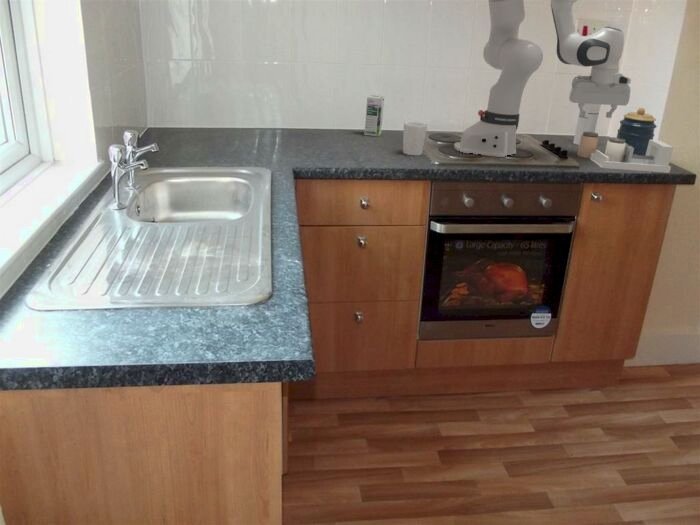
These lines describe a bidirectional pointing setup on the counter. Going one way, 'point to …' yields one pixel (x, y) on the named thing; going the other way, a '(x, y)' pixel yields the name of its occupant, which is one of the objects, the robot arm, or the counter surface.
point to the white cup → (414, 138)
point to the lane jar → (615, 149)
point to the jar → (587, 144)
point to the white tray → (655, 149)
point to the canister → (637, 130)
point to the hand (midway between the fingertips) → (595, 116)
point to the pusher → (633, 155)
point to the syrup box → (374, 115)
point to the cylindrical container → (587, 121)
